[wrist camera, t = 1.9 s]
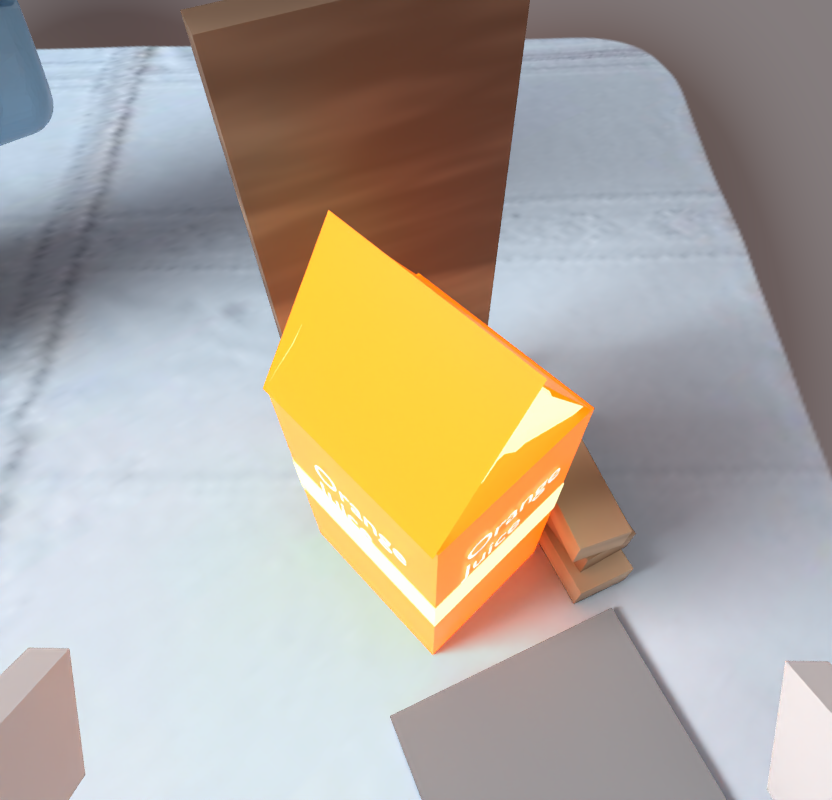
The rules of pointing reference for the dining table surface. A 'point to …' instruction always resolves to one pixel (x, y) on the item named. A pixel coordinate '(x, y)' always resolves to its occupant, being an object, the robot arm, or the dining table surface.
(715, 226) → the dining table surface
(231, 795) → the dining table surface
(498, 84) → the walnut rack
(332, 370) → the orange juice
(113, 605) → the dining table surface
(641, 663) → the grey mat
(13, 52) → the robot arm
